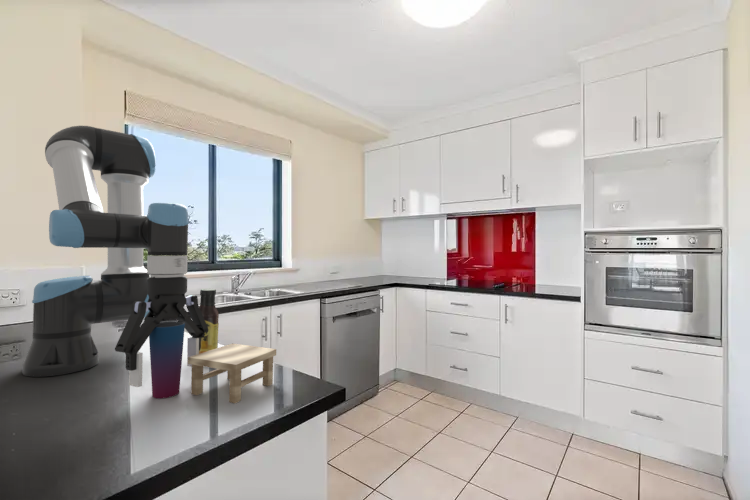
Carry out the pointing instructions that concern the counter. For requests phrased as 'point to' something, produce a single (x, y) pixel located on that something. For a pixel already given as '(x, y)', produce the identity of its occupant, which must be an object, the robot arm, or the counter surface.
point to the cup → (166, 358)
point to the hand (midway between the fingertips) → (166, 375)
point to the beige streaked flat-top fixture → (232, 367)
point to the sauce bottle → (209, 320)
